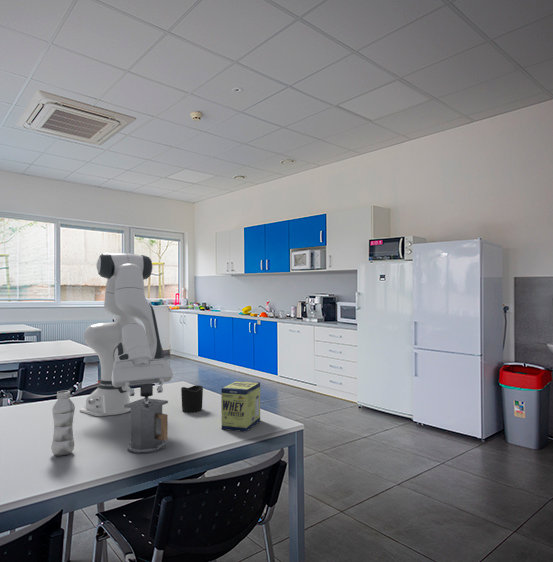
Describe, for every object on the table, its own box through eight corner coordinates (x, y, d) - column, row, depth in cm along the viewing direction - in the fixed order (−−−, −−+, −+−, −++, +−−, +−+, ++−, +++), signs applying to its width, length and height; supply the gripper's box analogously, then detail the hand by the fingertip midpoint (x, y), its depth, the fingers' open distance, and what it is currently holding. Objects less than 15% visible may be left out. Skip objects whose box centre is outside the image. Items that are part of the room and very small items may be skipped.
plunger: (129, 442, 142) (129, 386, 143) (145, 435, 149) (145, 381, 150) (147, 445, 139) (147, 388, 140) (162, 438, 146) (162, 383, 147)
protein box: (220, 429, 162) (220, 388, 163) (237, 418, 177) (237, 380, 178) (246, 432, 159) (246, 390, 160) (260, 420, 174) (260, 381, 174)
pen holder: (185, 407, 195) (185, 385, 195) (205, 408, 193) (205, 385, 193) (177, 412, 185) (177, 389, 186) (198, 413, 184) (198, 390, 184)
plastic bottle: (56, 451, 141) (56, 389, 142) (77, 450, 142) (78, 389, 142) (47, 458, 134) (48, 394, 135) (69, 457, 135) (70, 393, 136)
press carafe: (119, 450, 141) (119, 405, 141) (144, 439, 152) (144, 397, 152) (153, 456, 135) (153, 409, 136) (176, 444, 146) (176, 400, 147)
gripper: (166, 363, 160) (174, 394, 152) (108, 368, 150) (113, 402, 141) (170, 352, 157) (178, 384, 148) (110, 357, 146) (116, 391, 137)
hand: (146, 393), depth 144 cm, fingers open, 8 cm apart
